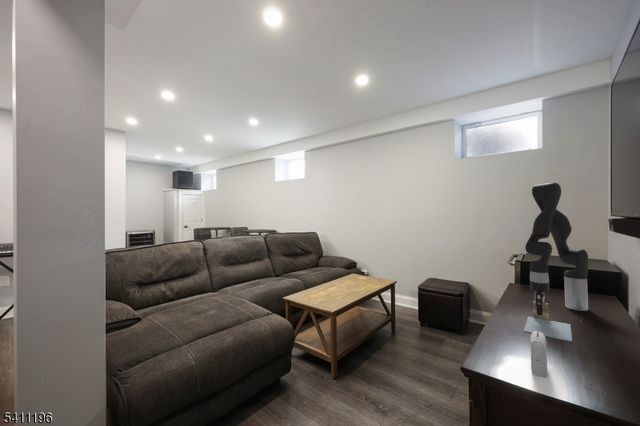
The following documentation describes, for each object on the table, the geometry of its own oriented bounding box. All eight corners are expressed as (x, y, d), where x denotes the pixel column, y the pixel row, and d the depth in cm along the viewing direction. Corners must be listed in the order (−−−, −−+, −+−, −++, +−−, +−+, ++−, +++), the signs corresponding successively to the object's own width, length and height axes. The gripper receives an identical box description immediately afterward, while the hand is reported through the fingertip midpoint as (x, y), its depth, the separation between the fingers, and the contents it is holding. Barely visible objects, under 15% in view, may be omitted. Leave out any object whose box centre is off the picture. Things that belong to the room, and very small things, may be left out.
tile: (533, 316, 138) (533, 301, 138) (548, 319, 134) (548, 303, 134) (533, 317, 137) (532, 302, 137) (548, 320, 133) (548, 304, 133)
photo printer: (547, 378, 86) (546, 340, 87) (530, 374, 89) (529, 337, 89) (547, 364, 94) (546, 329, 94) (531, 360, 97) (530, 326, 97)
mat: (528, 317, 137) (528, 316, 137) (570, 325, 126) (570, 324, 126) (523, 331, 121) (523, 330, 121) (572, 342, 110) (572, 341, 110)
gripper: (531, 277, 143) (531, 307, 143) (528, 282, 133) (529, 314, 133) (549, 279, 138) (550, 310, 138) (548, 284, 128) (549, 318, 127)
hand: (540, 312), depth 135 cm, fingers open, 8 cm apart
